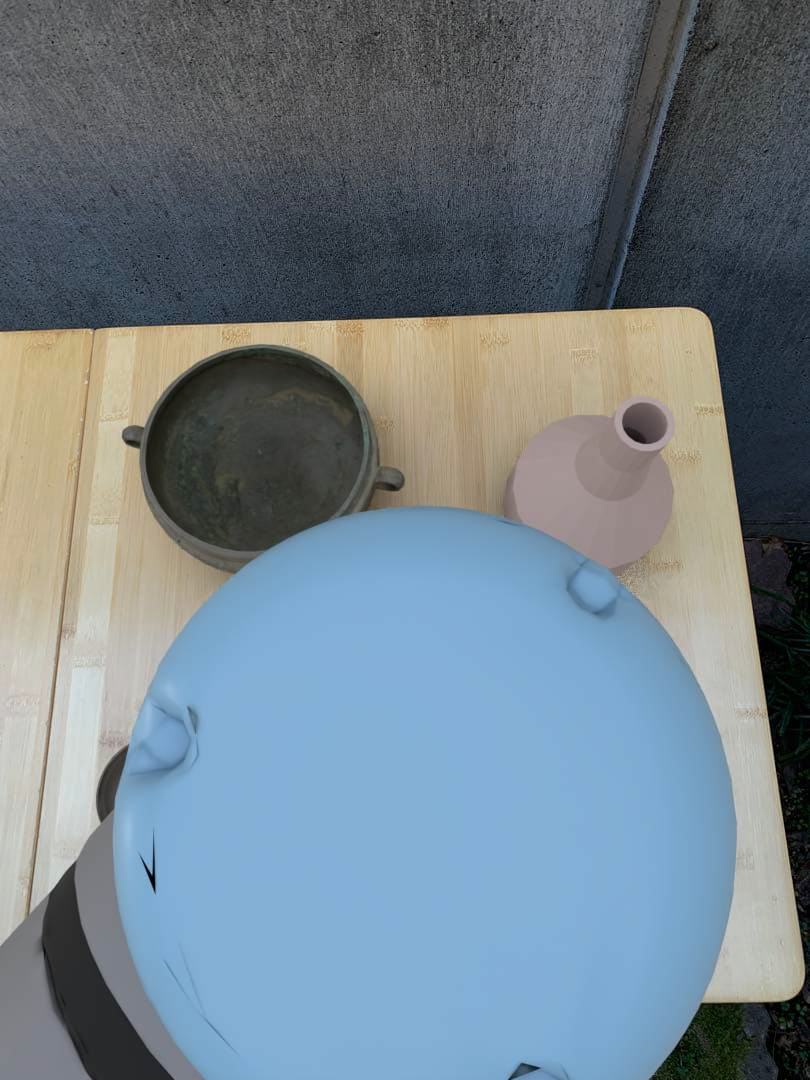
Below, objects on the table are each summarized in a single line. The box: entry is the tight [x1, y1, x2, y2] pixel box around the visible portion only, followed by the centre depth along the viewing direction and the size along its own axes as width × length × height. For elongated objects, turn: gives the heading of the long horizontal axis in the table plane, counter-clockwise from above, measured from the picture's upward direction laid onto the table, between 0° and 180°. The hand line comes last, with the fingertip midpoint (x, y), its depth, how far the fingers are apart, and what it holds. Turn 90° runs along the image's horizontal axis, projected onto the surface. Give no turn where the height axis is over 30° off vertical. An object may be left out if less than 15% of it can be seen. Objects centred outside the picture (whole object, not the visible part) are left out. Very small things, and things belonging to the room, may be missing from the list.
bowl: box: [121, 343, 406, 575], centre depth 79 cm, size 32×26×15 cm
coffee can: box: [95, 743, 130, 824], centre depth 71 cm, size 10×10×14 cm
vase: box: [502, 395, 676, 578], centre depth 70 cm, size 18×18×30 cm
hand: (416, 732), depth 45 cm, fingers closed on packet green, 4 cm apart
